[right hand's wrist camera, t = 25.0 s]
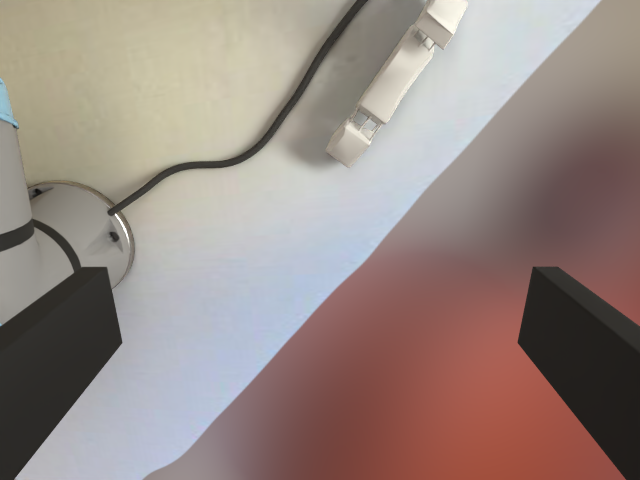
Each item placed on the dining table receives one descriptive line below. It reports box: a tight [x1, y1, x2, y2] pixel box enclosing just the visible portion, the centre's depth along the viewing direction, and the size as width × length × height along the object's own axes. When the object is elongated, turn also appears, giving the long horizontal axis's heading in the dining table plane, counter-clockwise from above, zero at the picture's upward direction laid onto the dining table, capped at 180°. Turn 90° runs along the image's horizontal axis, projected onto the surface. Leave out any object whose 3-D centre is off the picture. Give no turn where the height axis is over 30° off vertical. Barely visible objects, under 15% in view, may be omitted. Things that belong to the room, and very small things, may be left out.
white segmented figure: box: [325, 0, 468, 168], centre depth 41 cm, size 20×4×7 cm, turn 145°
